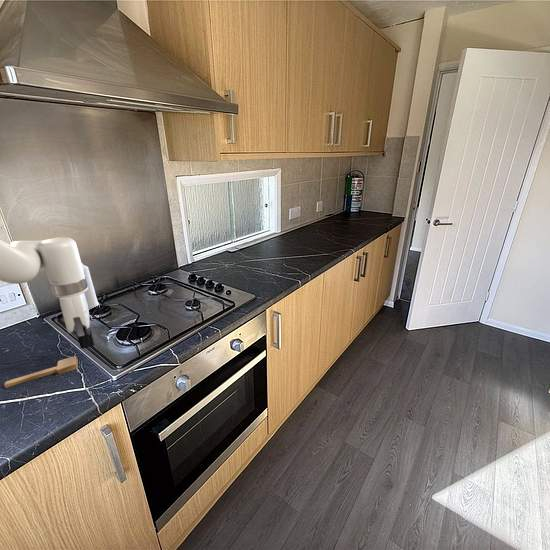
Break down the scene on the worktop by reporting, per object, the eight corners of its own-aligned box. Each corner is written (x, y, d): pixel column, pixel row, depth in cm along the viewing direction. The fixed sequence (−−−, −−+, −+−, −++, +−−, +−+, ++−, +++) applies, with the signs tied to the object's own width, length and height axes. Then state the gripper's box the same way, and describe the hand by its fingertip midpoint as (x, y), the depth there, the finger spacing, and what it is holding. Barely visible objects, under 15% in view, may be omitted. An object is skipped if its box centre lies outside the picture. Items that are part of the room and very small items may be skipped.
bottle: (100, 309, 111) (81, 246, 101) (84, 313, 108) (63, 249, 98) (99, 304, 115) (80, 242, 105) (84, 308, 112) (63, 245, 102)
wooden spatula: (4, 391, 73) (1, 387, 73) (8, 381, 77) (5, 376, 76) (77, 368, 80) (75, 364, 80) (78, 359, 84) (76, 355, 83)
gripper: (54, 279, 79) (73, 336, 86) (48, 301, 67) (70, 365, 74) (87, 273, 83) (102, 329, 90) (86, 294, 71) (104, 356, 78)
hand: (87, 345), depth 82 cm, fingers closed
